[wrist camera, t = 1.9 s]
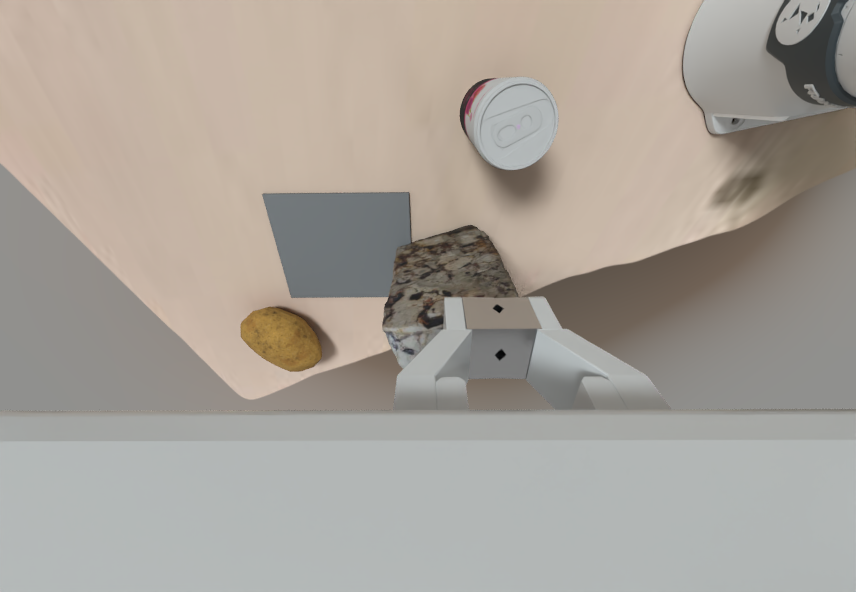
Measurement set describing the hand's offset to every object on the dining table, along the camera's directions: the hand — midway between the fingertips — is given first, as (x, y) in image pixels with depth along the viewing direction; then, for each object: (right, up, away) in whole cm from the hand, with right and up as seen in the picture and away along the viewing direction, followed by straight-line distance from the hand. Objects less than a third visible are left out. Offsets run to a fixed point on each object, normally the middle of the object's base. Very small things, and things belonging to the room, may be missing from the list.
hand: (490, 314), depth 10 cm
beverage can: (+5, +22, +28) cm, 36 cm away
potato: (-25, -4, +45) cm, 52 cm away
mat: (-14, +7, +37) cm, 40 cm away
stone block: (0, +7, +37) cm, 38 cm away
